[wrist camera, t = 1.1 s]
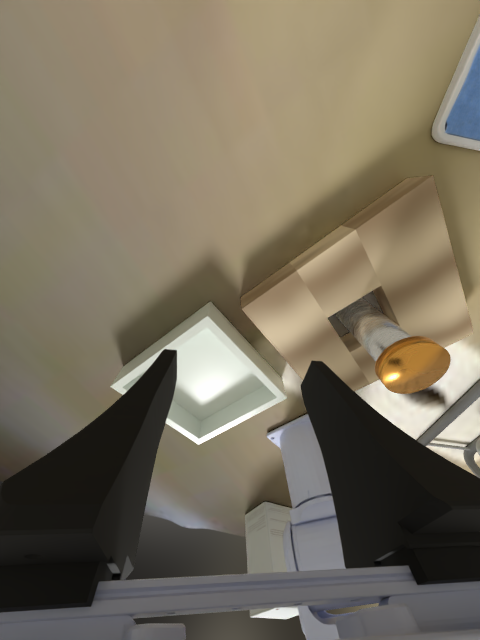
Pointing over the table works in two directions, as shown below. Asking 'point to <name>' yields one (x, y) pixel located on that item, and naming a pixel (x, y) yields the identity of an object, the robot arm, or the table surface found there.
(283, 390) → the tray
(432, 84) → the table surface
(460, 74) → the tablet computer
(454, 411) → the newton's cradle
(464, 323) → the pin plate
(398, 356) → the pin
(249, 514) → the supplement box
